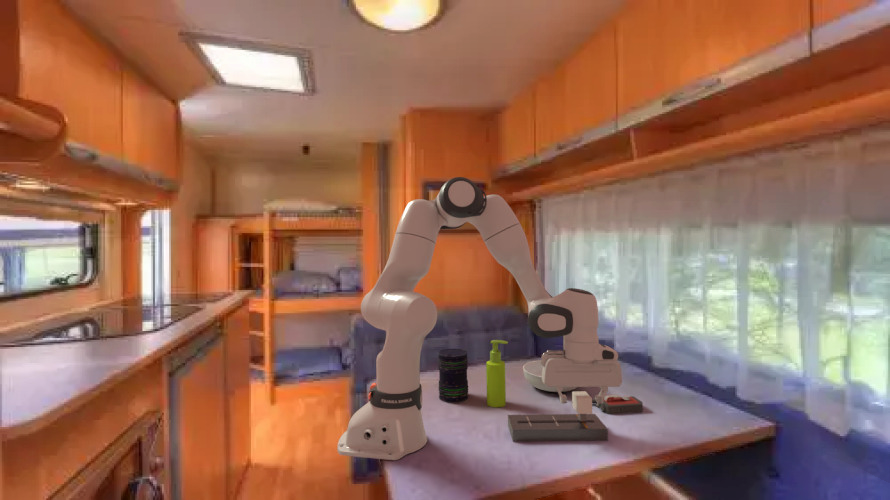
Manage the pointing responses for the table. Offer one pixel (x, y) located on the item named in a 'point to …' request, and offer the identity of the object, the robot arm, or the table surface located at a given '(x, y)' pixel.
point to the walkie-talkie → (619, 404)
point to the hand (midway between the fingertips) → (581, 402)
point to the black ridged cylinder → (453, 375)
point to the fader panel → (556, 428)
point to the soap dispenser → (496, 377)
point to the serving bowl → (539, 377)
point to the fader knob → (582, 404)
